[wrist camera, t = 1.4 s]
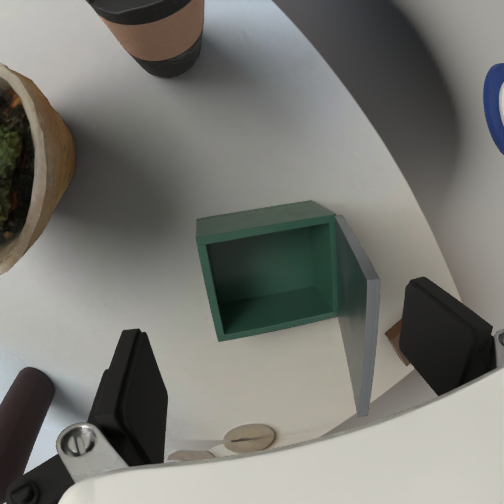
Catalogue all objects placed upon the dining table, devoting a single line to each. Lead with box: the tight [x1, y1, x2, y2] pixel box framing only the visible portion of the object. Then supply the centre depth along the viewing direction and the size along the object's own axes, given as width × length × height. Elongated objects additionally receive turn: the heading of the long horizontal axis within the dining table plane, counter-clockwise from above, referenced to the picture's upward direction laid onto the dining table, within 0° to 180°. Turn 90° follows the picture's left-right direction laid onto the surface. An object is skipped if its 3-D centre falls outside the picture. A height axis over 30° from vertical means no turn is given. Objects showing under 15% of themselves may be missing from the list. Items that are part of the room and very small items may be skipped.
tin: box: [196, 200, 338, 342], centre depth 36 cm, size 14×12×8 cm
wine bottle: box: [0, 368, 55, 504], centre depth 27 cm, size 7×7×30 cm
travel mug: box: [86, 0, 204, 77], centre depth 21 cm, size 8×8×20 cm
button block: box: [385, 319, 410, 366], centre depth 46 cm, size 10×8×4 cm
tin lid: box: [334, 215, 380, 417], centre depth 26 cm, size 14×12×1 cm
